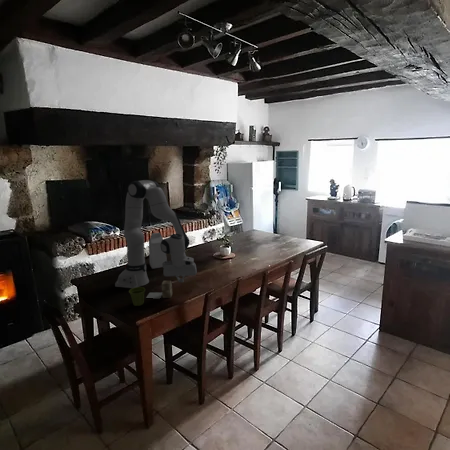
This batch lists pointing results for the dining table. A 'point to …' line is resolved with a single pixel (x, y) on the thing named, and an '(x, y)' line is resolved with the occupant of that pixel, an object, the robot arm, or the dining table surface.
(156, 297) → the grey mat
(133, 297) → the plant pot
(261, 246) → the dining table surface
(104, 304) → the dining table surface
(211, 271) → the dining table surface
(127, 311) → the dining table surface
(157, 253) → the milk
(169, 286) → the beech block
